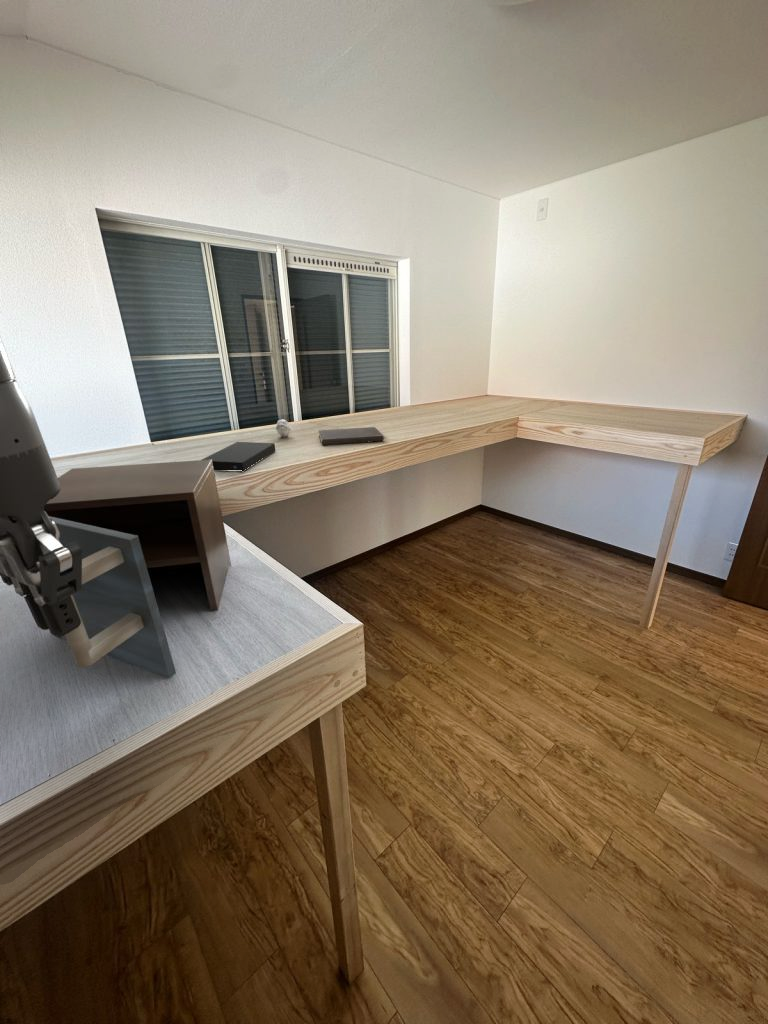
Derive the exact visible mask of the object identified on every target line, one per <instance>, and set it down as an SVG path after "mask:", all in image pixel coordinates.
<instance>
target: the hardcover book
mask: <svg viewBox="0 0 768 1024" xmlns="http://www.w3.org/2000/svg"><path fill="white" fill-rule="evenodd" d="M317 432H318V434H319V435H318V437H319V440H320V443H321V446H322V445H323V446H333V445H332V444H338V445H347V444H346V443H353V444H356V443H355V442H368V441H383V440H384V439H385V437H384V434H382V432H381V431H380V430H379V429H378V428H377V427H375V426H370V427H369V426H368V427H367V426H366V427H353V428H352V427H350V428H335V429H318V431H317ZM383 442H384V441H383ZM368 443H369V442H368Z"/></svg>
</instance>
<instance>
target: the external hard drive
mask: <svg viewBox="0 0 768 1024" xmlns="http://www.w3.org/2000/svg"><path fill="white" fill-rule="evenodd" d="M273 452H274V453H275V452H276V444H275V443H274V442H254V441H252V442H251V441H236V442H234V443H232V444H230V445H228V446H226V447H223V448H222V449H220V450H218V451H216V452H213V453H212V454H210V455H207V456H206V457H204V458H202V459H201V460H212V463H213V468H214V470H242V471H244V470H245V469H247V468H248V467H250V466H251V465H253V464H255V463H256V462H258V461H259V460H261V459H262V458H264V457H266V456H267V457H269V456H271V455H273V454H274V453H273ZM270 454H271V455H270ZM268 455H269V456H268ZM267 457H266V458H267ZM264 459H265V458H264ZM261 461H262V460H261ZM258 463H259V462H258ZM255 465H256V464H255ZM250 468H251V467H250ZM247 470H248V469H247ZM244 472H245V471H244Z"/></svg>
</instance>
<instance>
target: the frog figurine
mask: <svg viewBox="0 0 768 1024" xmlns="http://www.w3.org/2000/svg"><path fill="white" fill-rule="evenodd" d="M275 431H276V432H277V434H278V435H279V436H280V437H283V438H285V437H288V436H290V434H291V431H292V426H291V423H290V422H288V420H285V419H284V418H282V419H280V420H277V422H276V424H275Z"/></svg>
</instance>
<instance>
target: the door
mask: <svg viewBox="0 0 768 1024" xmlns="http://www.w3.org/2000/svg"><path fill="white" fill-rule="evenodd" d="M48 517H49V518H51V519H52V520H53V521H54V522H55V524H56V526H57V528H58V531H59V533H60V537H59V542H60V543H61V544H62V545H63V546H66V545H68V544H71V543H73V542H75V543H77V544H78V545H79V546H80V548H81V550H82V590H80V591H78V592H76V593H74V594H72V595H70V596H71V598H72V601H73V603H74V606H75V608H76V610H77V613H78V615H79V618H80V620H81V624H80V626H79V627H78V628H76V629H74V630H73V631H71V632H69V633H67V634H66V635H64V636H62V637H57V638H58V639H61V640H63V641H66V642H67V644H68V646H69V649H70V651H71V654H72V656H73V660H74V661H75V664H76V666H77V668H79V669H84V668H87V667H91V666H92V665H93V664H95V663H96V662H98V661H99V660H100V659H102V658H103V657H104V656H106V657H109V658H113V659H115V660H118V661H120V662H123V663H125V664H128V665H131V666H134V667H136V668H139V669H142V670H144V671H147V672H150V673H152V674H156V675H158V676H161V677H164V678H166V679H171V678H172V677H173V676H175V675H176V674H177V671H176V667H175V664H174V661H173V657H172V654H171V649H170V646H169V642H168V639H167V635H166V632H165V629H164V624H163V621H162V617H161V614H160V610H159V607H158V603H157V599H156V596H155V593H154V588H153V586H152V582H151V578H150V576H149V574H148V570H147V567H146V563H145V560H144V556H143V553H142V549H141V545H140V542H139V538H138V536H136V535H132V534H127V533H123V532H118V531H114V530H109V529H105V528H100V527H96V526H91V525H86V524H82V523H77V522H73V521H68V520H64V519H59V518H55V517H50V516H48Z"/></svg>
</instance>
